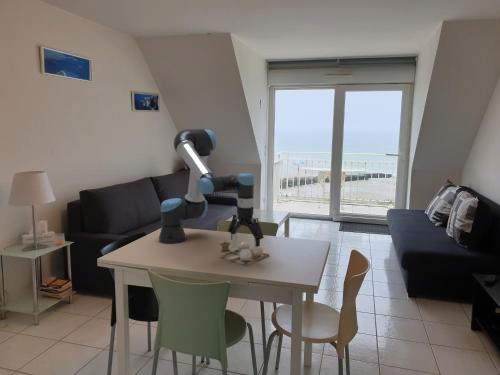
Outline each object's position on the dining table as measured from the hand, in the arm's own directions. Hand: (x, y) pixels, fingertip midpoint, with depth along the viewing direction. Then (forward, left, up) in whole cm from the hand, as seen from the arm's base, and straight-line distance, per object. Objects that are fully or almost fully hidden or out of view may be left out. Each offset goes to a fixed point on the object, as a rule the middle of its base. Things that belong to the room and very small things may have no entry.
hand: (245, 249), depth 191 cm
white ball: (0, 0, -6) cm, 6 cm away
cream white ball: (0, +8, -6) cm, 10 cm away
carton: (-4, +4, -6) cm, 8 cm away
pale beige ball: (-8, +8, -6) cm, 13 cm away
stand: (-18, +5, -6) cm, 20 cm away
